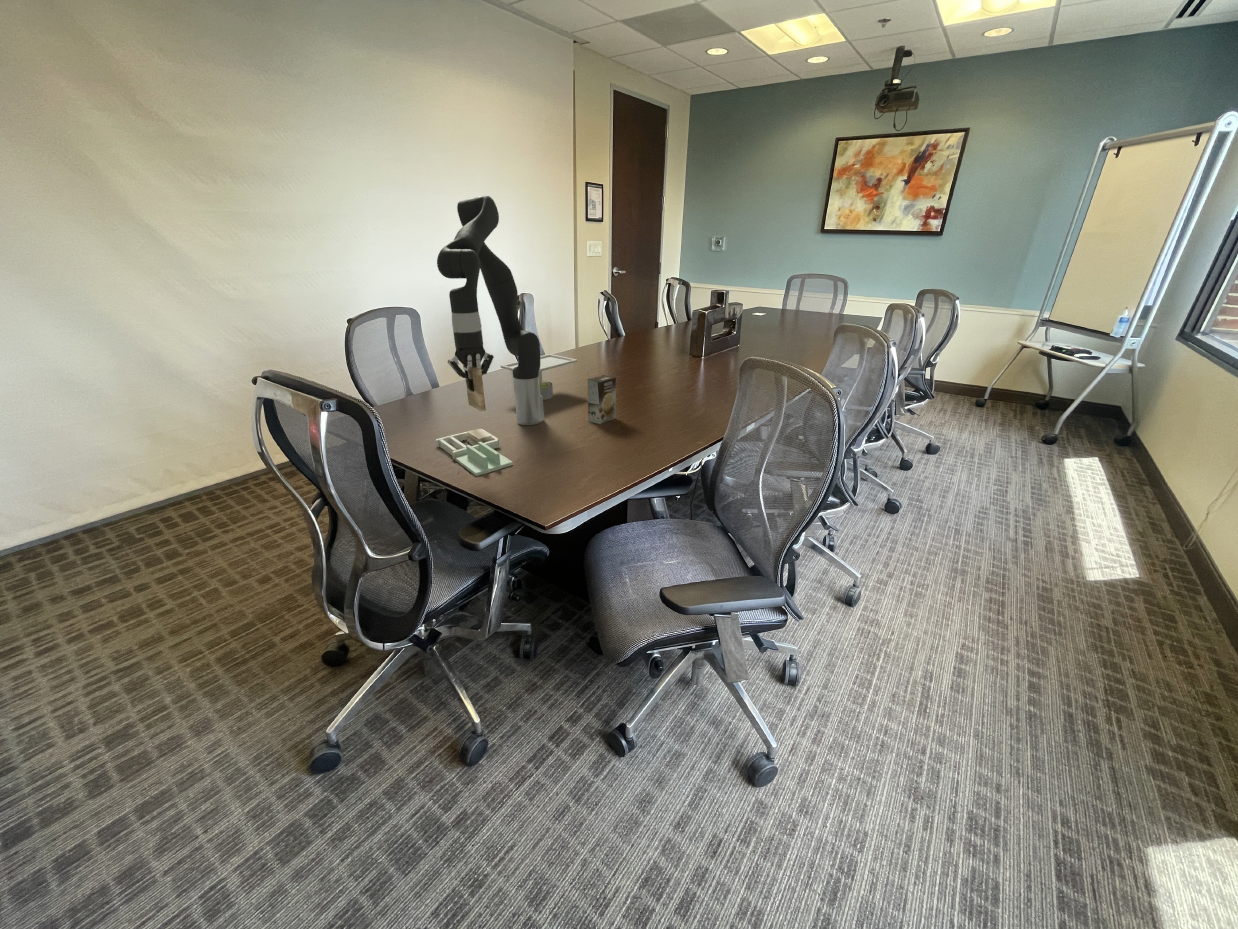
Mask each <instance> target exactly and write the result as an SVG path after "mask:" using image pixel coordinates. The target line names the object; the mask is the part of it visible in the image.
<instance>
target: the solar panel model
mask: <svg viewBox="0 0 1238 929" xmlns="http://www.w3.org/2000/svg"><path fill="white" fill-rule="evenodd" d="M574 363H578V359H576V358H571V357H565V356H562V355H556V354H551V353H547V354H544V355H540V369H539V384H540V395H541V396H542V397H543V401H546V400H550V399H552V398H553V397H554V387H553V383H552V381H551V382H550V381H546V380H545V381H543V373H542V372H543V371H547V370H551V369H556V368H559V367H563V366H567V365H570V364H574ZM515 367H518V361H515V362H509V363H506V364H501V365H500V369H504V370H508V371H512V372H513V369H514V368H515Z"/></svg>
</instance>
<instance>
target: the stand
mask: <svg viewBox="0 0 1238 929" xmlns="http://www.w3.org/2000/svg"><path fill="white" fill-rule="evenodd" d="M465 446H466V449H467V455H464V456H460V457H457V458H455V459H456V460H455V462H457V463H458V464H459V465H461V466H462V467H463V468H465V469H466V470H468V471H469V472H470V473H471V474H473V475H474V476H476V477H477V476H480V475H484V474H487V473H490V472H494V471H497V470H500V469H505V468H507V467H511V466H513V465H514V463H513V461H512V460H510V459H509V458H507V457H506V456H504V455H502V454H501V453H499V452H498V451H496V450H495V449H492V448H490V447H489V446H487V445H486V444H484V443H482V442H478V446H479V451H478V450H476V449H475V448H473V447H472V446H473V445H471V444H467V445H465Z"/></svg>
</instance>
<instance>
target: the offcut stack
mask: <svg viewBox="0 0 1238 929" xmlns="http://www.w3.org/2000/svg"><path fill="white" fill-rule="evenodd" d="M481 429H482V428H476V430H475V429H472V431H471V430H468V432H467V431H466V432H467V434H468V435H467V440H466V442H468V443H469V445H471V446H474V445H478V442H482V443H485V442H489V441H491V439H492V438H491V435H492V434H491V435H489V434H488V433H489V432H488V433H486V432H487V431H486V432H484V431H483V430H484V429H483V430H481Z"/></svg>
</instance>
